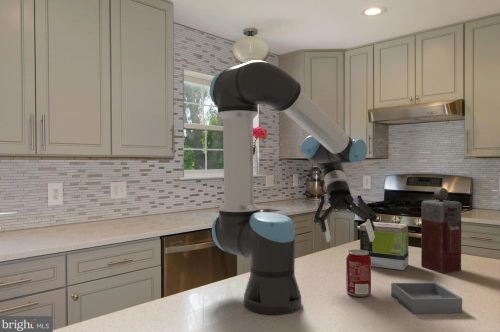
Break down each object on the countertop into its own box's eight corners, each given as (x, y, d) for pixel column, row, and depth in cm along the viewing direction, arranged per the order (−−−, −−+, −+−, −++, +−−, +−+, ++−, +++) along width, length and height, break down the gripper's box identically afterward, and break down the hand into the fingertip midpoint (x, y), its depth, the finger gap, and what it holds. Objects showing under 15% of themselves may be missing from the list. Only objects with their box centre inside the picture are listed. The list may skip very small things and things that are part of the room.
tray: (412, 313, 94) (412, 299, 94) (391, 295, 107) (391, 283, 107) (462, 312, 95) (462, 298, 95) (435, 294, 107) (435, 282, 107)
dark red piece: (447, 275, 125) (447, 189, 124) (420, 266, 135) (421, 187, 135) (467, 272, 128) (467, 188, 128) (440, 263, 138) (440, 186, 138)
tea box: (409, 264, 138) (409, 223, 138) (403, 271, 130) (403, 228, 129) (367, 258, 146) (367, 220, 146) (359, 265, 138) (359, 224, 137)
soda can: (372, 299, 104) (372, 255, 104) (346, 297, 105) (346, 254, 105) (369, 290, 111) (369, 249, 111) (345, 289, 112) (345, 248, 112)
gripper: (369, 193, 135) (387, 245, 120) (299, 194, 134) (308, 246, 119) (375, 179, 130) (394, 232, 115) (302, 179, 128) (312, 233, 114)
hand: (350, 239), depth 117 cm, fingers open, 13 cm apart
